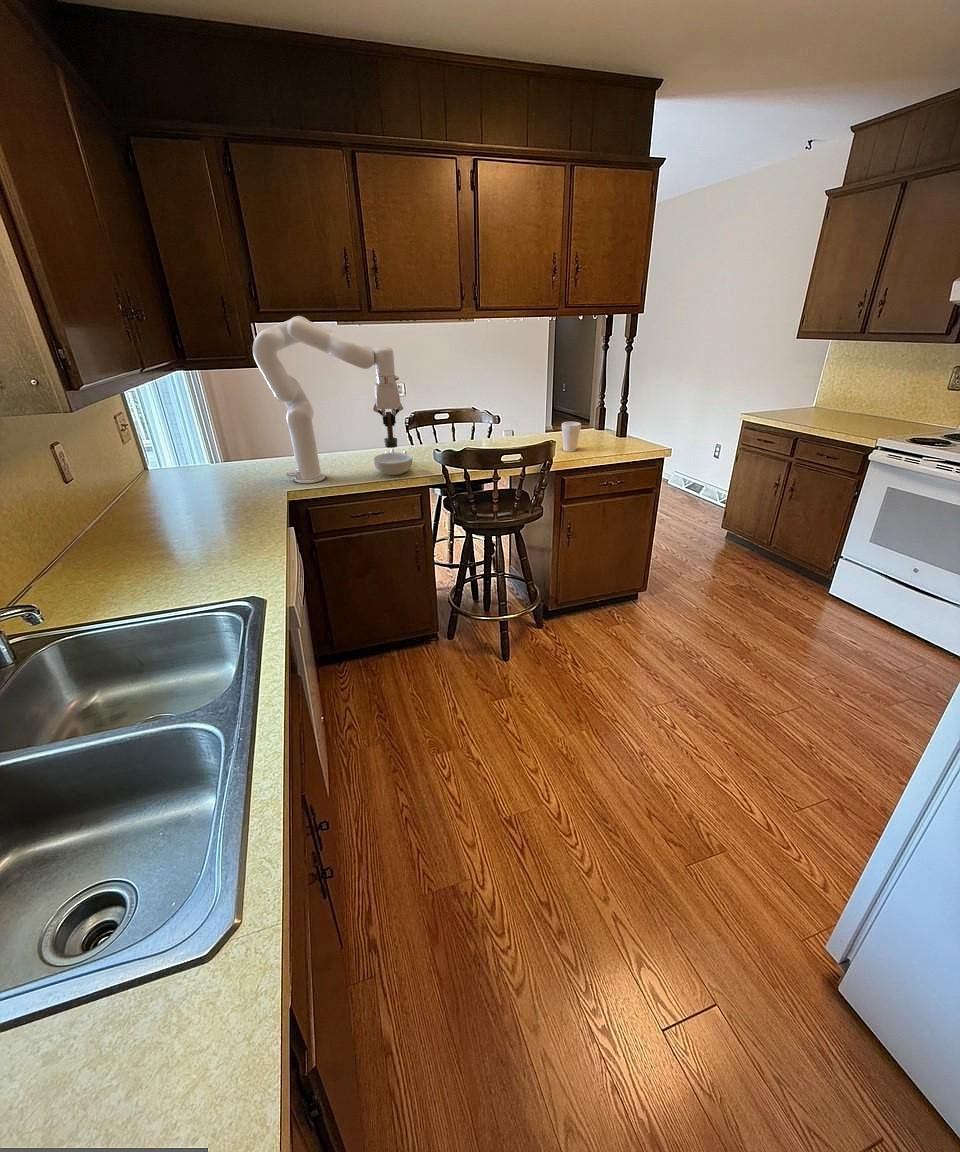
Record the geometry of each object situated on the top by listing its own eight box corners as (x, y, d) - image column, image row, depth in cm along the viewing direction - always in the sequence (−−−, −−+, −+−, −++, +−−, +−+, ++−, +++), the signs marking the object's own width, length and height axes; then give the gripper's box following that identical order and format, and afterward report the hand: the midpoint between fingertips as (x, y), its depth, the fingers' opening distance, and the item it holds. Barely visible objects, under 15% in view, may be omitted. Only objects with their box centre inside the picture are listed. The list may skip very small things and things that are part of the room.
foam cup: (558, 447, 266) (559, 421, 259) (575, 447, 267) (577, 421, 260) (562, 452, 257) (564, 426, 251) (581, 451, 258) (583, 425, 252)
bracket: (404, 467, 241) (406, 451, 238) (389, 465, 238) (391, 449, 235) (398, 460, 252) (401, 445, 249) (384, 458, 249) (386, 442, 246)
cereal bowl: (374, 479, 223) (373, 463, 219) (375, 468, 237) (373, 453, 234) (414, 477, 225) (413, 461, 222) (412, 466, 239) (411, 451, 236)
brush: (386, 448, 221) (383, 413, 214) (383, 445, 226) (380, 411, 219) (398, 447, 223) (396, 413, 216) (396, 444, 227) (393, 410, 220)
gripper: (403, 378, 217) (406, 422, 226) (364, 379, 212) (369, 425, 221) (407, 380, 211) (410, 426, 219) (367, 382, 206) (372, 429, 215)
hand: (389, 425), depth 220 cm, fingers closed on brush, 2 cm apart
